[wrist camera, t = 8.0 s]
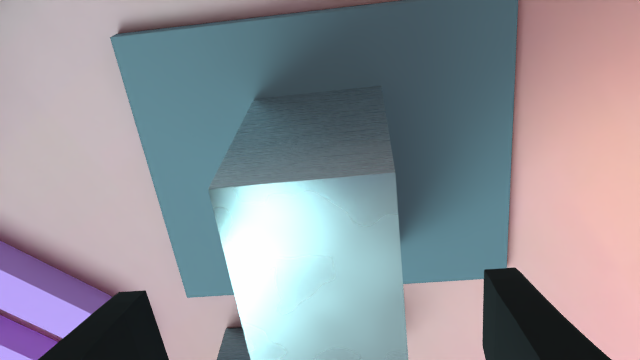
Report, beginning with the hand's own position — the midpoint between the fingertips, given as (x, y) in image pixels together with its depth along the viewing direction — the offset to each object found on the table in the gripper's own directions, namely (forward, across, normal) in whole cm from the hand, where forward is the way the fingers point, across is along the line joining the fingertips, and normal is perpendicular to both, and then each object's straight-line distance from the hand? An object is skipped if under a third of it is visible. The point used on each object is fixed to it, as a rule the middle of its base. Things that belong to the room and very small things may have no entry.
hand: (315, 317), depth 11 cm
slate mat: (+8, 0, 0) cm, 8 cm away
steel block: (+7, 0, 0) cm, 7 cm away
